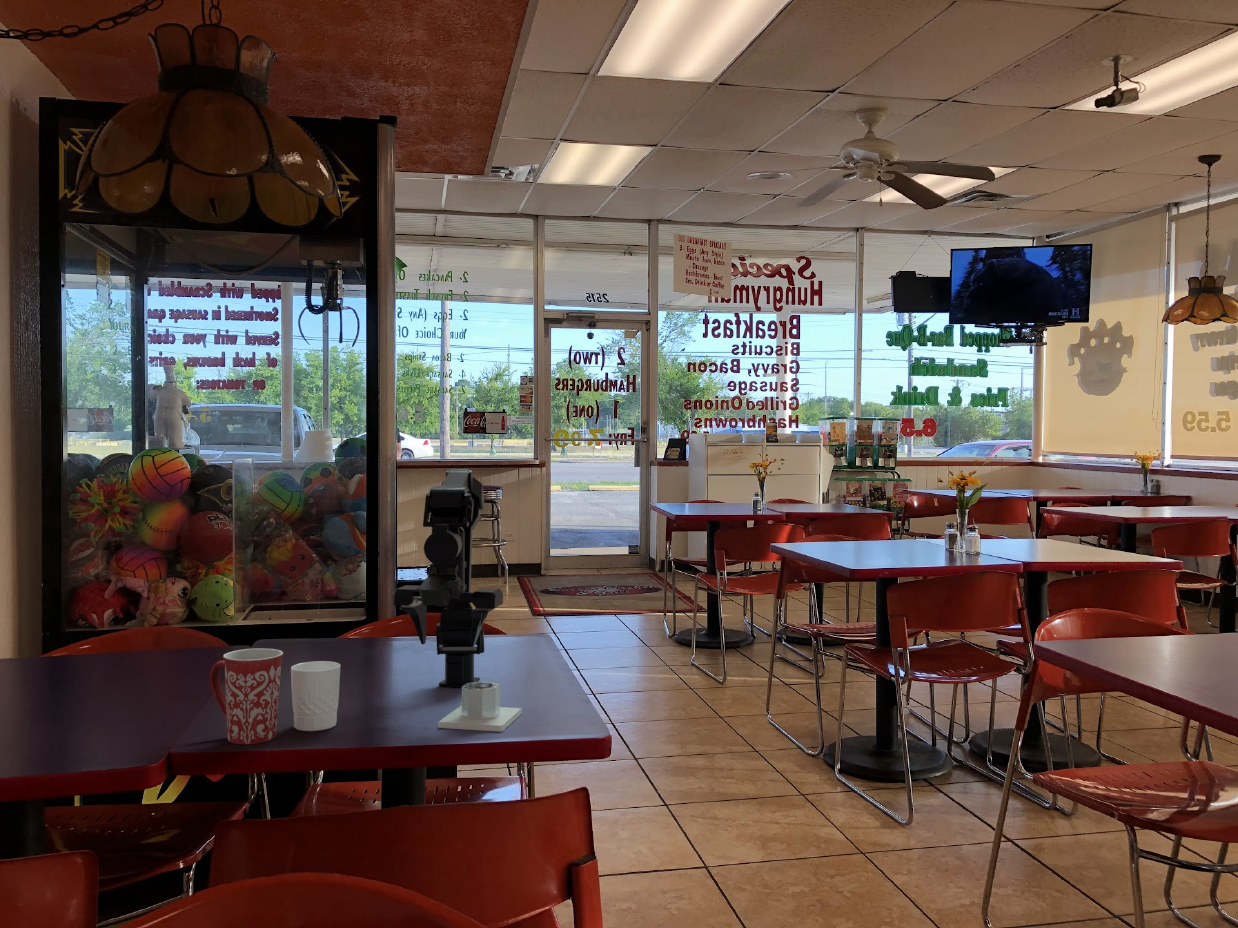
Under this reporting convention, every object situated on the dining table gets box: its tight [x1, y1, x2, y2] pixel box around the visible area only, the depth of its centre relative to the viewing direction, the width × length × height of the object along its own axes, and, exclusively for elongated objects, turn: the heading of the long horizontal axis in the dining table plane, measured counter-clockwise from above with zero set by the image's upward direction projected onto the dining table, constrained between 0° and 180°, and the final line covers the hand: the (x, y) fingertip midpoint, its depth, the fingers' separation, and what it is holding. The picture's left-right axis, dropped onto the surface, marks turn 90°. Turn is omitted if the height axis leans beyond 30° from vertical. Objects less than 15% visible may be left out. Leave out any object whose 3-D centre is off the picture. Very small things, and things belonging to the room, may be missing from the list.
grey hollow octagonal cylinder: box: [461, 680, 501, 720], centre depth 161 cm, size 6×6×5 cm
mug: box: [209, 647, 284, 745], centre depth 151 cm, size 13×9×14 cm
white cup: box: [290, 660, 341, 732], centre depth 157 cm, size 8×8×10 cm
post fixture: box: [437, 684, 522, 733], centre depth 161 cm, size 11×11×6 cm
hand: (448, 645), depth 168 cm, fingers open, 9 cm apart
